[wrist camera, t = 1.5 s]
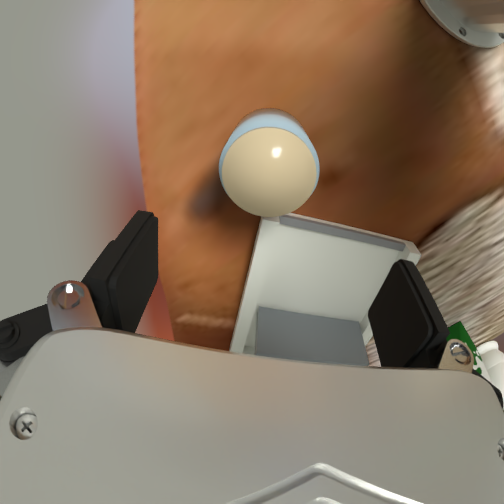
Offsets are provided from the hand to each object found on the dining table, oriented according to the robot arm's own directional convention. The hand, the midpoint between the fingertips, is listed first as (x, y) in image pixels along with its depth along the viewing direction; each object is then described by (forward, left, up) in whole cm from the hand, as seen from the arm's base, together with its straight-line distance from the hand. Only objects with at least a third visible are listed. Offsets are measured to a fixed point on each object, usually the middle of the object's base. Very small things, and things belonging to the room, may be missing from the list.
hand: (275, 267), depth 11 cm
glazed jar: (-1, 0, -17) cm, 17 cm away
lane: (+15, +9, -17) cm, 24 cm away
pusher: (+22, +9, -16) cm, 28 cm away
